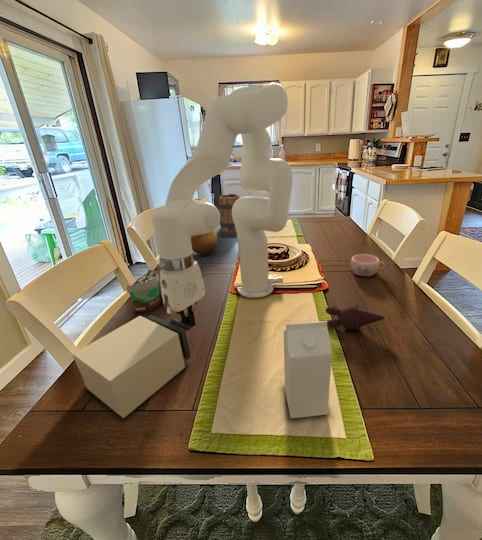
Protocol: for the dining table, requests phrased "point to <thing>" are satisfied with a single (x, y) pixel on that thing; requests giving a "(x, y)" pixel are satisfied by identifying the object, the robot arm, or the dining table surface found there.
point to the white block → (130, 363)
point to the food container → (145, 292)
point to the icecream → (351, 317)
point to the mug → (365, 264)
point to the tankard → (227, 215)
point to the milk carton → (307, 368)
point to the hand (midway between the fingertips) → (189, 325)
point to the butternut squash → (204, 240)
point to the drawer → (178, 330)
